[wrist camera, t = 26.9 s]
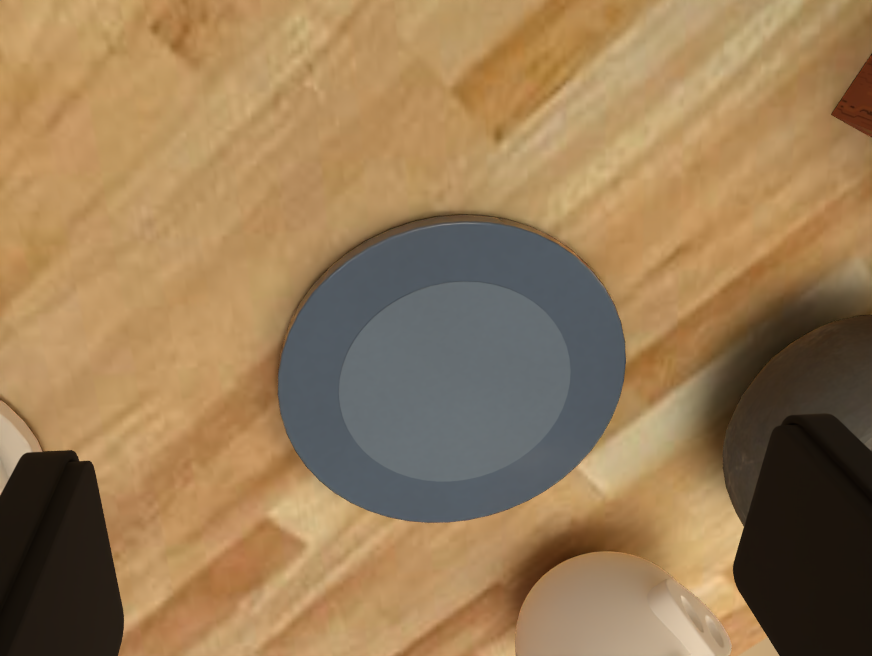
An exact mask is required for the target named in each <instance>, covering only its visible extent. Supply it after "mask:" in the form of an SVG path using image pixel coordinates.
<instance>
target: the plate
mask: <svg viewBox="0 0 872 656" xmlns="http://www.w3.org/2000/svg"><path fill="white" fill-rule="evenodd" d="M625 364H626V354H625V339H624V334H623V329H622V324H621V321H620V318H619V315H618V313H617V310H616V307H615V305H614V303H613V301H612V299H611V297H610V296H609V294H608V292H607V290H606V288H605V287H604V285H603V284H602V283H601V282H600V280H599V279H598V278H597V276H596V275H595V274H594V273H593V271H592V270H591V269H590V268H589V266H588V265H587V264H586V263H585V262H584V261H583V260H582V259H581V258H580V257H579V256H578V255H576V254H575V253H574V252H573V251H572V250H571V249H569V248H568V247H567V246H565V245H564V244H562V243H561V242H559V241H558V240H556V239H555V238H553V237H551V236H549V235H547V234H545V233H543V232H541V231H539V230H537V229H535V228H533V227H530V226H527V225H524V224H521V223H518V222H515V221H512V220H506V219H501V218H496V217H490V216H478V215H453V216H439V217H434V218H429V219H424V220H419V221H414V222H411V223H408V224H405V225H402V226H399V227H396V228H393V229H390V230H388V231H385V232H383V233H381V234H379V235H377V236H375V237H373V238H371V239H369V240H367V241H365V242H364V243H362V244H360V245H359V246H357V247H356V248H354V249H353V250H351V251H349V252H348V253H346V254H345V255H344V256H343V257H342V258H340V259H339V260H338V261H337V262H336V263H334V264H333V265H332V266H331V267H330V268H328V269H327V270H326V272H325V273H324V274H323V275H322V276H321V277H320V278H319V279H318V280H317V281H316V282H315V283H314V285H313V286H312V287H311V288H310V290H309V291H308V293H307V294H306V295H305V297H304V298H303V300H302V301H301V303H300V304H299V306H298V308H297V310H296V312H295V314H294V316H293V318H292V320H291V322H290V324H289V326H288V329H287V332H286V335H285V338H284V341H283V344H282V349H281V354H280V360H279V367H278V400H279V407H280V414H281V417H282V420H283V424H284V427H285V430H286V433H287V435H288V437H289V439H290V441H291V443H292V445H293V447H294V449H295V451H296V452H297V454H298V455H299V457H300V458H301V460H302V461H303V463H304V464H305V465H306V467H307V468H308V469H309V470H310V471H311V472H312V473H313V474H314V475H315V476H316V477H317V478H318V480H319V481H321V482H322V483H323V484H324V485H326V486H327V487H328V488H329V489H331V490H332V491H333V492H334V493H336V494H337V495H339V496H341V497H342V498H344V499H346V500H347V501H349V502H350V503H353V504H355V505H357V506H359V507H361V508H364V509H366V510H368V511H371V512H374V513H377V514H380V515H383V516H386V517H390V518H395V519H400V520H405V521H414V522H425V523H443V522H456V521H465V520H471V519H476V518H480V517H485V516H489V515H492V514H495V513H499V512H502V511H505V510H508V509H510V508H513V507H515V506H517V505H519V504H522V503H524V502H526V501H528V500H530V499H532V498H534V497H535V496H537V495H539V494H541V493H542V492H544V491H546V490H547V489H549V488H550V487H552V486H553V485H554V484H556V483H557V482H559V481H560V480H561V479H563V478H564V477H565V476H566V475H567V474H568V473H570V472H571V471H572V470H573V469H574V468H575V467H576V466H577V465H578V464H579V463H580V462H581V461H582V460H583V459H584V458H585V457H586V456H587V454H588V453H589V452H590V451H591V450H592V449H593V447H594V446H595V444H596V443H597V442H598V440H599V439H600V437H601V436H602V435H603V433H604V431H605V429H606V427H607V426H608V424H609V422H610V420H611V418H612V416H613V414H614V411H615V409H616V406H617V404H618V401H619V398H620V394H621V390H622V386H623V382H624V374H625Z"/></svg>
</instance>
